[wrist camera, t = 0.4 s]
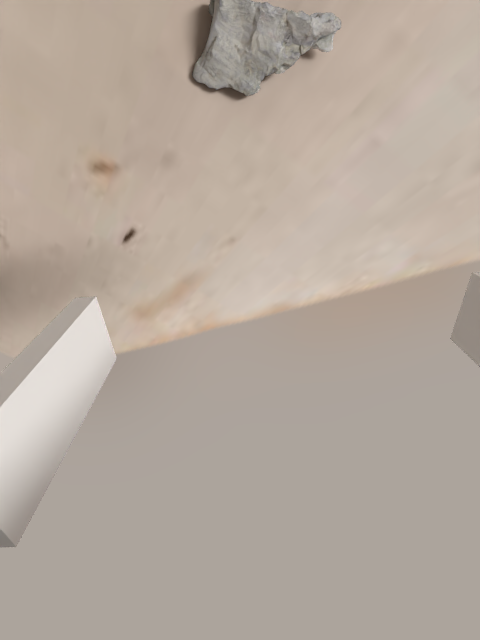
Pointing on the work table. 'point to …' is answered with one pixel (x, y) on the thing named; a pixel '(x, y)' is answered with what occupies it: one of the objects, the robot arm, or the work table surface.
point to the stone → (258, 42)
